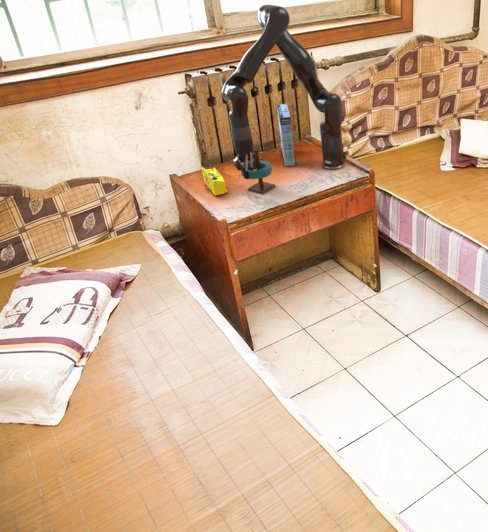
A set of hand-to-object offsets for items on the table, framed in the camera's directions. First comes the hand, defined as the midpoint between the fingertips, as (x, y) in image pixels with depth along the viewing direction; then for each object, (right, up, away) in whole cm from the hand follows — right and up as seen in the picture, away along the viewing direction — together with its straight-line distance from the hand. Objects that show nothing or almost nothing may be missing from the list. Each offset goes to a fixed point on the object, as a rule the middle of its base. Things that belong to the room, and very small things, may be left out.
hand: (249, 177), depth 222 cm
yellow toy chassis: (-17, -4, +10) cm, 19 cm away
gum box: (+10, +15, +36) cm, 41 cm away
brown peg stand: (+3, -3, +9) cm, 10 cm away
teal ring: (+2, +2, +4) cm, 5 cm away
